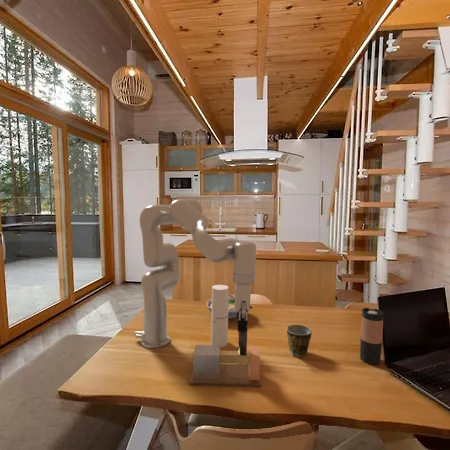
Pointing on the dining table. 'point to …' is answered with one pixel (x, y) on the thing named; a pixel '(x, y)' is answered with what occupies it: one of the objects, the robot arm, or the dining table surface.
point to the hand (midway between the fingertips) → (241, 325)
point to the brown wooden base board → (218, 370)
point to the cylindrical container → (219, 315)
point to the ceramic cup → (298, 339)
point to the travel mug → (371, 336)
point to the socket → (254, 363)
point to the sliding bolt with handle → (237, 352)
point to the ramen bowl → (230, 307)
